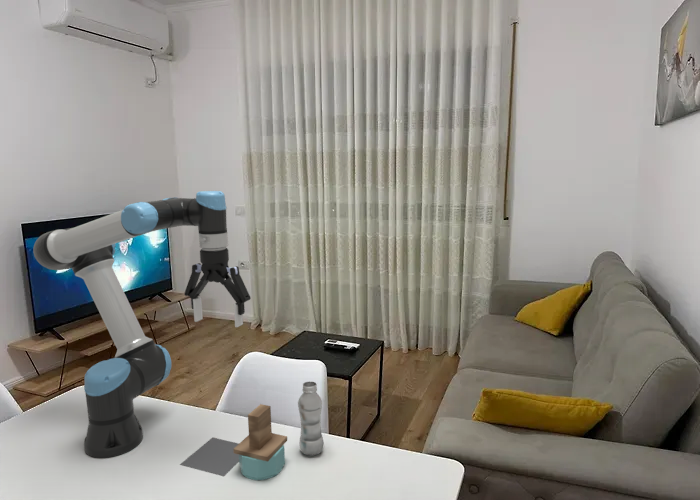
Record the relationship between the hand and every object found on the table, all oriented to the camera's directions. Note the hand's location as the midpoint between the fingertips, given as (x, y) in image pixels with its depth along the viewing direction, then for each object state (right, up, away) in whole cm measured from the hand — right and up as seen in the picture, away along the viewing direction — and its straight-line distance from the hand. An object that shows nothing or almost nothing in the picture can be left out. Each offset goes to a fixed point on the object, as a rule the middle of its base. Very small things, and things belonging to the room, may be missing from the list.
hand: (218, 323), depth 139 cm
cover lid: (+14, -31, -10) cm, 35 cm away
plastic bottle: (+26, -36, -2) cm, 44 cm away
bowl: (+14, -37, -9) cm, 40 cm away
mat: (+1, -36, -3) cm, 36 cm away
